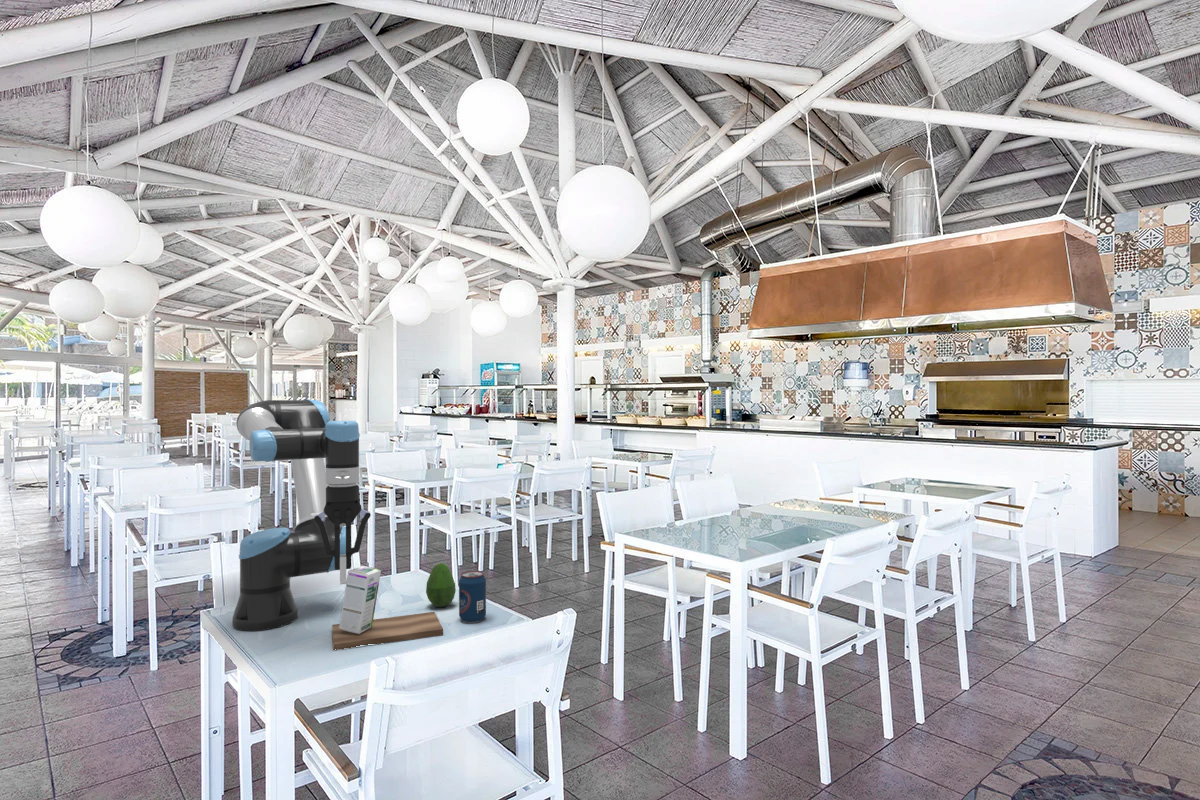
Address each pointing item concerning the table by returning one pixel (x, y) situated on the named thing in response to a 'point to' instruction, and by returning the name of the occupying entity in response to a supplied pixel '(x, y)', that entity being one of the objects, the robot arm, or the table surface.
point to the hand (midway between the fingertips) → (343, 582)
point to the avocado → (440, 586)
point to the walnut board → (390, 630)
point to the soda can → (472, 596)
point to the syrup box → (359, 599)
